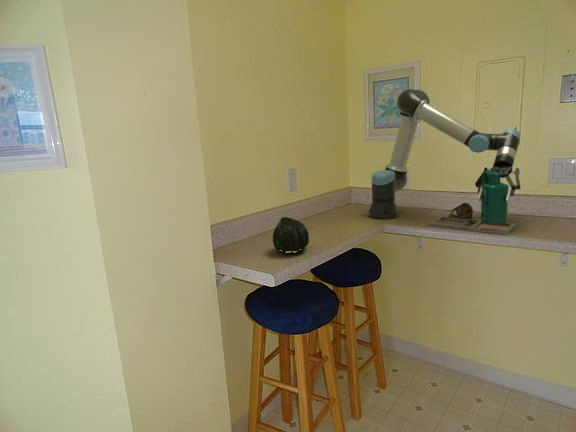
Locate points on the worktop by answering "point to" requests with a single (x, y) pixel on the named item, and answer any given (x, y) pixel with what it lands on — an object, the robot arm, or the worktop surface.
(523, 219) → the worktop surface
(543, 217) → the worktop surface
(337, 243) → the worktop surface
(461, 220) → the rail
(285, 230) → the squash
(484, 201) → the green bottle
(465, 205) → the brown mottled shell
